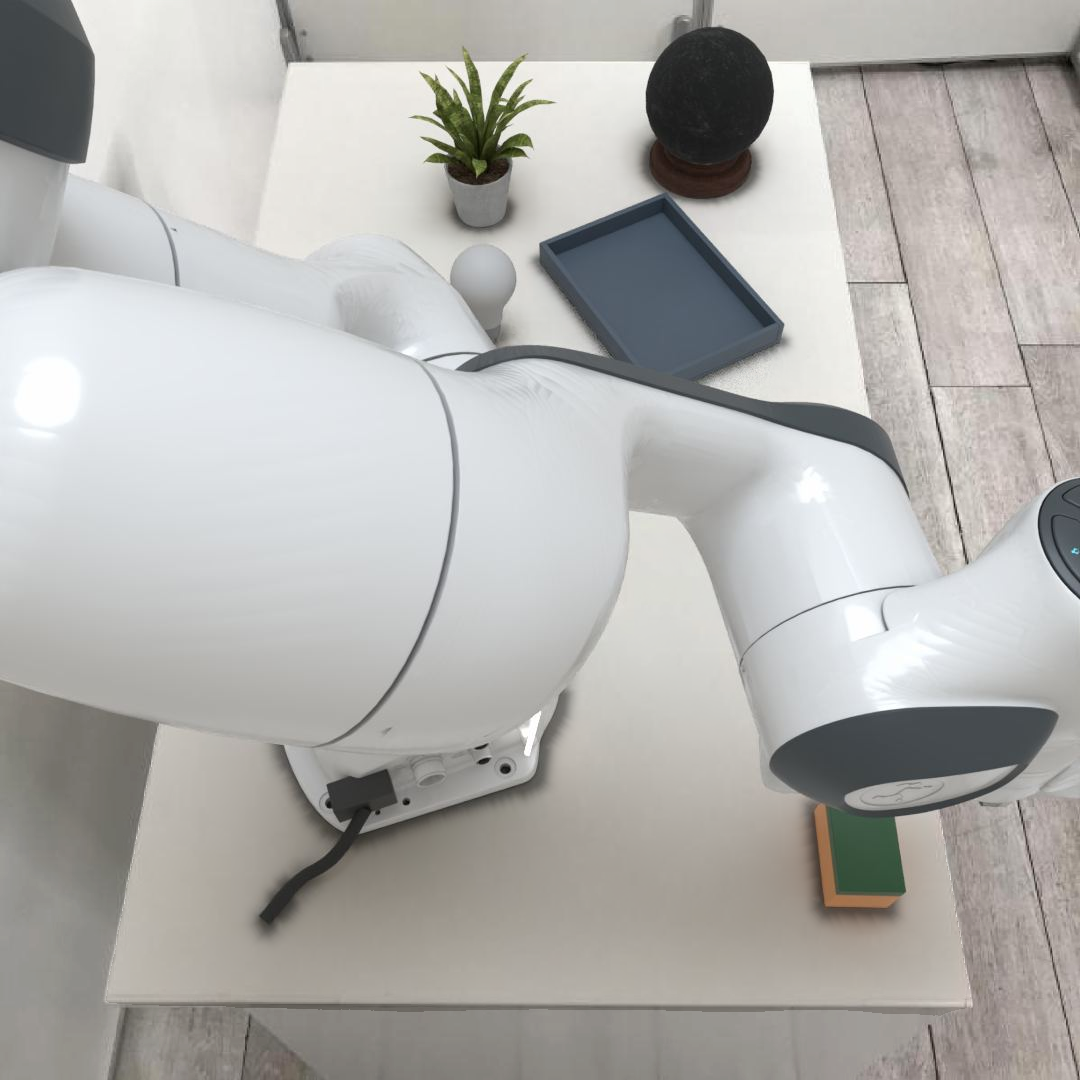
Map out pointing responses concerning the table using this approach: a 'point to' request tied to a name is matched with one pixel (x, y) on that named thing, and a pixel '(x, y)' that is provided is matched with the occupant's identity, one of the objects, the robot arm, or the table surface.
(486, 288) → the lightbulb
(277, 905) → the robot arm
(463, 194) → the house plant
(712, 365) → the tray
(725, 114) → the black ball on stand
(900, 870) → the sponge
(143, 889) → the table surface
